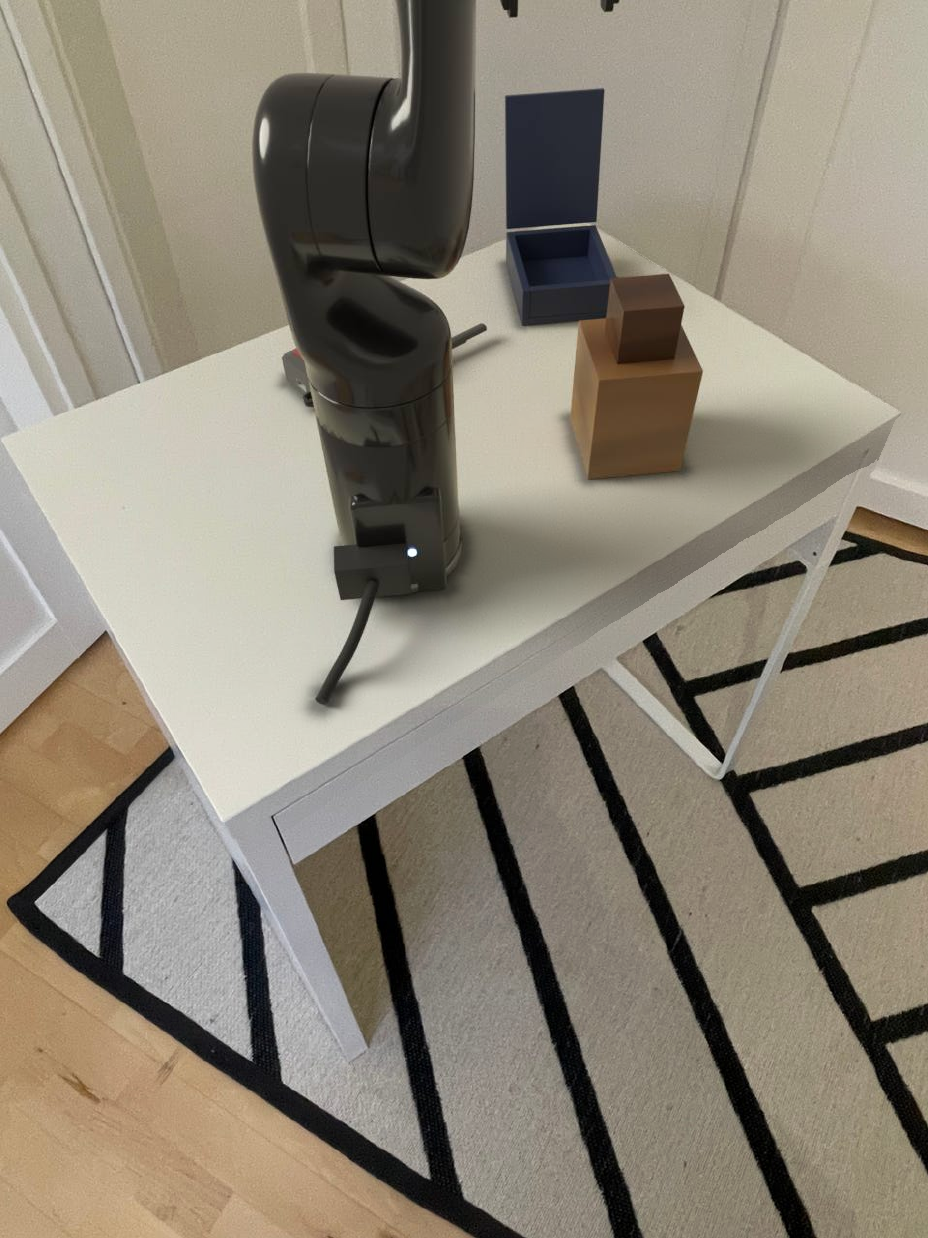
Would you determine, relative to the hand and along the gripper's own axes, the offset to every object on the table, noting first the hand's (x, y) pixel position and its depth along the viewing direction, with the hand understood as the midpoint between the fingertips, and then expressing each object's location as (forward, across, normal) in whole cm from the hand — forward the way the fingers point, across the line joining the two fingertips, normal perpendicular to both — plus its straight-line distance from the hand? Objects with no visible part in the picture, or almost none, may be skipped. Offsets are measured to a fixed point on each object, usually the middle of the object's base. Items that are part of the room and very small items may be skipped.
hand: (559, 11), depth 76 cm
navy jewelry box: (+23, 0, -6) cm, 24 cm away
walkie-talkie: (+24, -19, -17) cm, 34 cm away
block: (+13, +1, -32) cm, 34 cm away
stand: (+23, +1, -32) cm, 39 cm away
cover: (+13, 0, 0) cm, 13 cm away
